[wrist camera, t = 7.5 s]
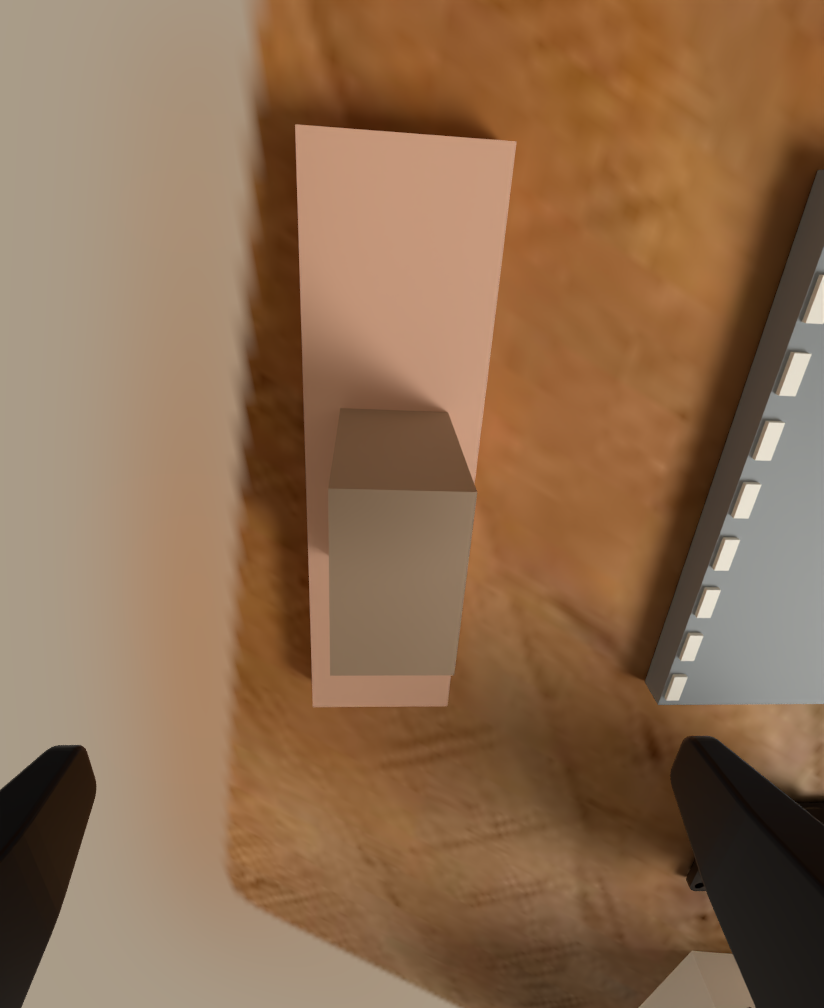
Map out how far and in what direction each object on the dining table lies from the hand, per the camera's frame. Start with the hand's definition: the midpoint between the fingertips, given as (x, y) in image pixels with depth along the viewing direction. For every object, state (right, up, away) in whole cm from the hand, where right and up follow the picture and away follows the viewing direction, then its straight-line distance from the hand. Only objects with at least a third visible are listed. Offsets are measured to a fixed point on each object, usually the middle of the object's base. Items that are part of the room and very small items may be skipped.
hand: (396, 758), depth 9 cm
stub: (0, +5, +9) cm, 11 cm away
